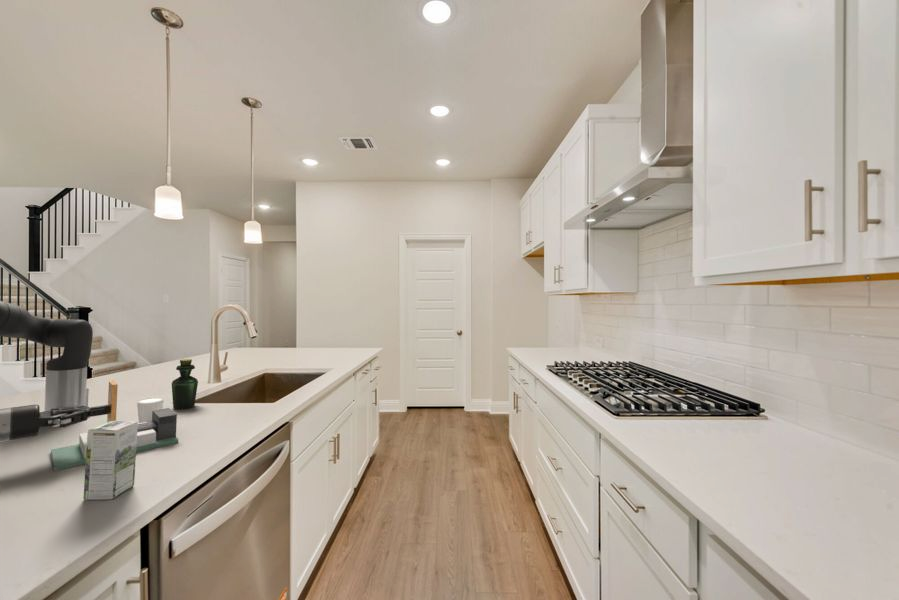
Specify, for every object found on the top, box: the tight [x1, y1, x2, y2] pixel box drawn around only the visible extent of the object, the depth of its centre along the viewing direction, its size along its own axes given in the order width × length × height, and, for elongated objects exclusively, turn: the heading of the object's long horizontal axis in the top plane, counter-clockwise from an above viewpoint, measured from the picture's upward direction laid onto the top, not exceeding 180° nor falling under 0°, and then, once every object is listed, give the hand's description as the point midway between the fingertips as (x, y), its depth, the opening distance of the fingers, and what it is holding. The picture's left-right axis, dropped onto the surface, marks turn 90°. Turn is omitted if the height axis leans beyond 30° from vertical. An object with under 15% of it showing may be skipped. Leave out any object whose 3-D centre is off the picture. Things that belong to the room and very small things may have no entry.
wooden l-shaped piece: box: [106, 380, 158, 430], centre depth 102 cm, size 12×6×14 cm, turn 140°
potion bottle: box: [171, 358, 199, 410], centre depth 136 cm, size 8×8×18 cm
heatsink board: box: [50, 407, 179, 471], centre depth 98 cm, size 24×14×8 cm, turn 140°
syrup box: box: [83, 420, 139, 501], centre depth 76 cm, size 6×6×14 cm
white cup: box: [136, 397, 165, 423], centre depth 120 cm, size 7×7×7 cm
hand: (109, 409), depth 97 cm, fingers closed
